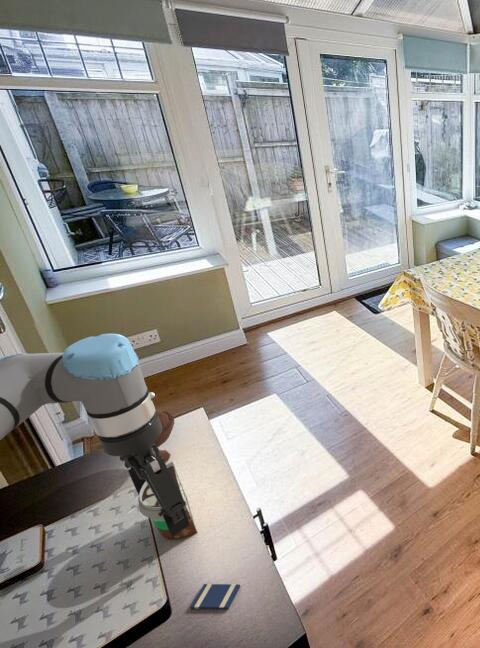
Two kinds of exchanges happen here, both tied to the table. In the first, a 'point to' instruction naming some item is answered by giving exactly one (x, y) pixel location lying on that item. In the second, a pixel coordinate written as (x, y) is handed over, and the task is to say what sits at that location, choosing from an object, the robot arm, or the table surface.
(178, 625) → the table surface
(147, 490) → the food container
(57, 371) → the robot arm
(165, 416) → the ice cream bowl
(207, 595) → the tea towel
